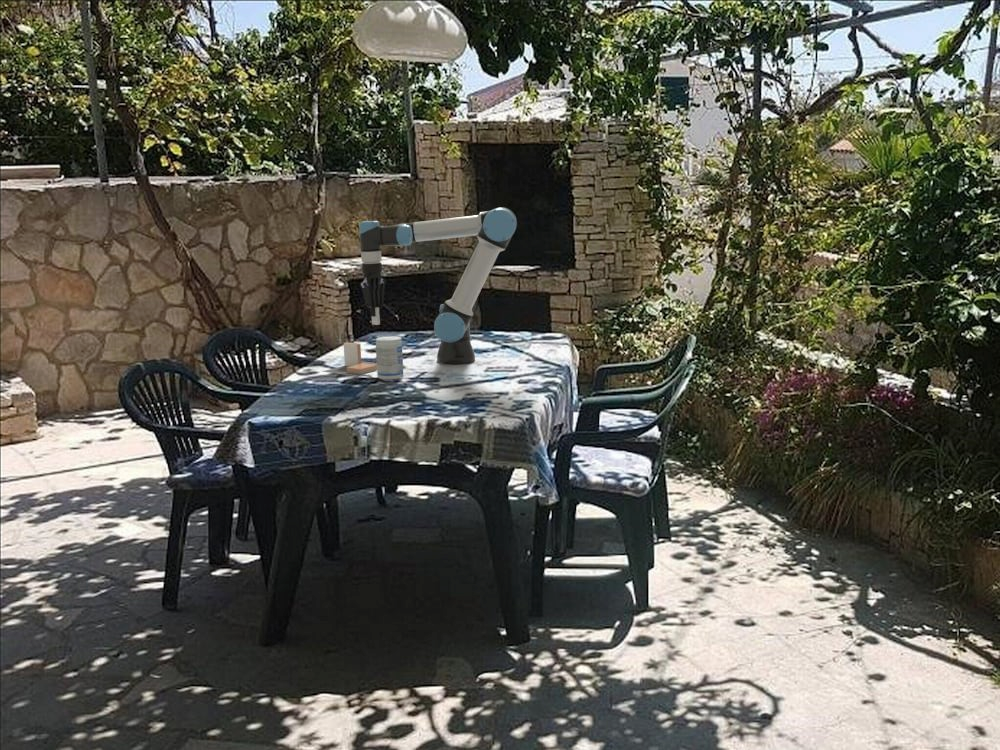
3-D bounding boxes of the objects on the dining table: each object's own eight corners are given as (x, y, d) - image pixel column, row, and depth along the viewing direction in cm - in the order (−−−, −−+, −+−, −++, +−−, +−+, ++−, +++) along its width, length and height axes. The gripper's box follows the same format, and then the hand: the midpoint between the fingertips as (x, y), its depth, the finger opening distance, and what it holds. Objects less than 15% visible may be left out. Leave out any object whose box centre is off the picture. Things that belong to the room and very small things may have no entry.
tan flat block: (361, 366, 342) (360, 343, 340) (358, 367, 340) (356, 344, 338) (348, 364, 345) (346, 342, 344) (344, 365, 344) (343, 343, 342)
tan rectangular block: (376, 364, 335) (360, 369, 327) (376, 369, 335) (361, 374, 328) (362, 363, 338) (346, 367, 331) (362, 368, 339) (346, 372, 331)
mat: (394, 366, 343) (394, 365, 343) (356, 377, 325) (356, 376, 325) (361, 362, 352) (361, 361, 352) (322, 372, 334) (322, 371, 334)
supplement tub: (405, 379, 319) (403, 339, 316) (378, 381, 317) (376, 341, 314) (401, 374, 328) (400, 335, 325) (376, 376, 326) (374, 336, 323)
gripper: (375, 260, 339) (379, 321, 344) (352, 264, 328) (357, 326, 333) (390, 261, 335) (394, 322, 340) (367, 264, 324) (372, 327, 329)
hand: (376, 324), depth 337 cm, fingers closed
